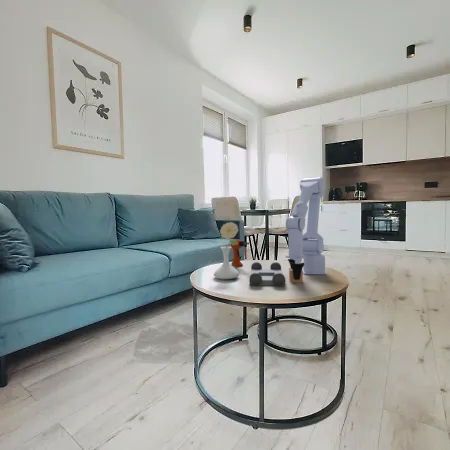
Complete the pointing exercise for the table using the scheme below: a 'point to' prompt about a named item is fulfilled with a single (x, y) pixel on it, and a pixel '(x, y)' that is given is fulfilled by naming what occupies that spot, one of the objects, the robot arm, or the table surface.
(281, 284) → the chassis
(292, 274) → the block
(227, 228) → the flower in vase
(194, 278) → the table surface
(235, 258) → the toy drill
